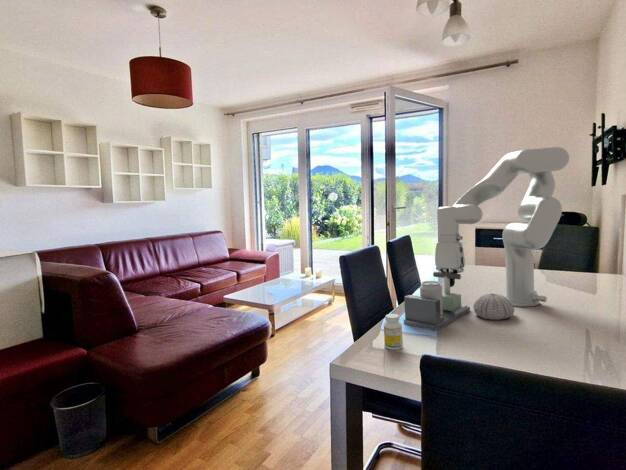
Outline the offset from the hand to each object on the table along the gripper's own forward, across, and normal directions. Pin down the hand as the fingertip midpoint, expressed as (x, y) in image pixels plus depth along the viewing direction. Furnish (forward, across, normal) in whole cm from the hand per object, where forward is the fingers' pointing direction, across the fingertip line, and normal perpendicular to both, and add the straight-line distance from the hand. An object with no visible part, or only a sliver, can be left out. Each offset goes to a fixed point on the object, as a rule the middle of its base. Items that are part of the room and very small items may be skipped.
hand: (450, 286), depth 141 cm
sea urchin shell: (+10, -15, -2) cm, 18 cm away
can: (+8, 0, +14) cm, 16 cm away
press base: (+9, 0, +10) cm, 14 cm away
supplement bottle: (+10, -4, +42) cm, 43 cm away
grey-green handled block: (+7, 0, +4) cm, 8 cm away
